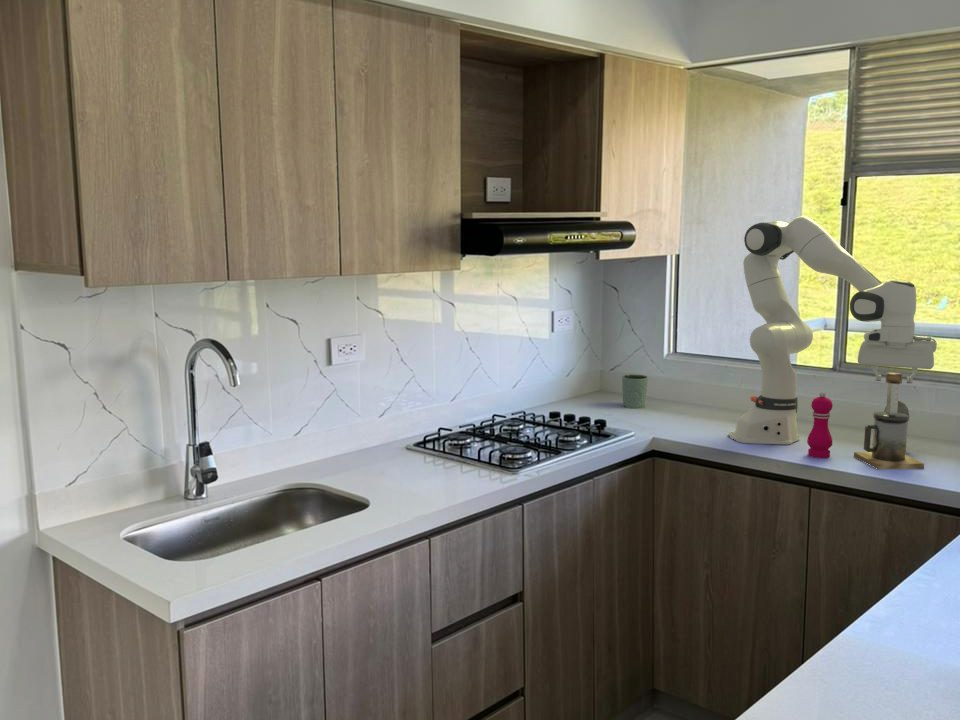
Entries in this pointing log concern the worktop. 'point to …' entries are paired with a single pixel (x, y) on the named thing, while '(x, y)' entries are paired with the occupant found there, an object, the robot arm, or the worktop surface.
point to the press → (887, 436)
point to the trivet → (889, 462)
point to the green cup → (634, 390)
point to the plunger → (893, 392)
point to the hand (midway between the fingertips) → (893, 382)
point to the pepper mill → (820, 428)
